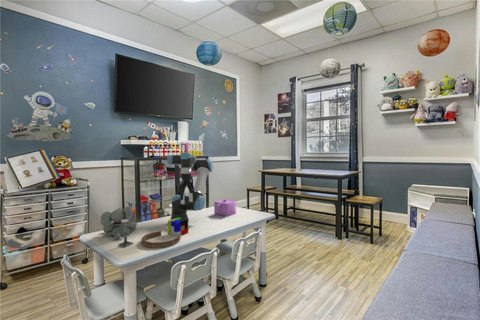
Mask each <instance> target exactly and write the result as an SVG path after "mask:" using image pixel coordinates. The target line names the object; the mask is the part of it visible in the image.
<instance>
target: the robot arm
mask: <svg viewBox="0 0 480 320" xmlns="http://www.w3.org/2000/svg"><path fill="white" fill-rule="evenodd" d="M166 161H167V164H168V165H175V166H179V167H180V177H181V180H180V181H179V182H178V184H179V187H178V194H176V195H173V196H172V197H171V216H170V219H169V220H172V219H175V218H183V219H188V223H190V221H189V217H188V213H187V211H195V212H197V211H202V210H203V209H204V207H205V205H206V203H205V202H206V199H205V196H204V191H205V186H206V182H207V178H208V175H210V173H211V172H213V169H214V168H213V162H212V159H210V158H207V159H197V156H196V155H194V154H192V153H191V152H181V153H180V154H169V155H168V156H167V158H166ZM192 172H195V173H197V175H196V178H195V182H194V180H193V179H191V178H192ZM186 187H187V190H188V191H189V193H188V195H187V194H186V193H185V191H186Z"/></svg>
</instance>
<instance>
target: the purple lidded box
mask: <svg viewBox="0 0 480 320" xmlns="http://www.w3.org/2000/svg"><path fill="white" fill-rule="evenodd" d="M234 199H235V198H232V199H230V200H228V199H227V198H222V199H220V200H217V201H213V202H214V205H213V207H214V209H213V211H214V212H213V213H214V214H213V215H217V216H221V217H230V216H232V215H236V213H237V212H236V211H237V210H236V209H237V208H236V203H237V202H236V201H235V200H234Z"/></svg>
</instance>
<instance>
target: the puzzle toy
mask: <svg viewBox="0 0 480 320" xmlns="http://www.w3.org/2000/svg"><path fill="white" fill-rule="evenodd" d="M188 219H189V218H188ZM188 219H183V218H175V219H172V220H170V219H169V220H167V232H168V233H167V234H168V235H170V236H172V237H173V236H174V237H175V238H176V237H177V236H178V234H180V237H181V236H184V235H186V234H189V222H188Z"/></svg>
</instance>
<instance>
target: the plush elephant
mask: <svg viewBox="0 0 480 320" xmlns="http://www.w3.org/2000/svg"><path fill="white" fill-rule="evenodd" d="M132 216H133V210H132V207H130V206H125V207H124V208H123V209H122V208H121V207H118V208H117V209H114V210H113V211H112V212H110V211H105V212H103V213H102V214H101V215H100V223H101V226H103V229H102V231H103V233H106V234H108V235H109V236H112V235H113V237H114V238H113V241H116V240H117V241H120V240H122V238H124V223H121V220H123V219H129V220H130V219H131V218H132ZM130 223H133V222H132V221H129V222H126V224H130ZM126 227H127V236H129V234H130V233H131V232H133V231H134V230H135V229H136V227H137V225H134V226H126ZM115 239H116V240H115ZM119 239H120V240H119Z"/></svg>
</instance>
